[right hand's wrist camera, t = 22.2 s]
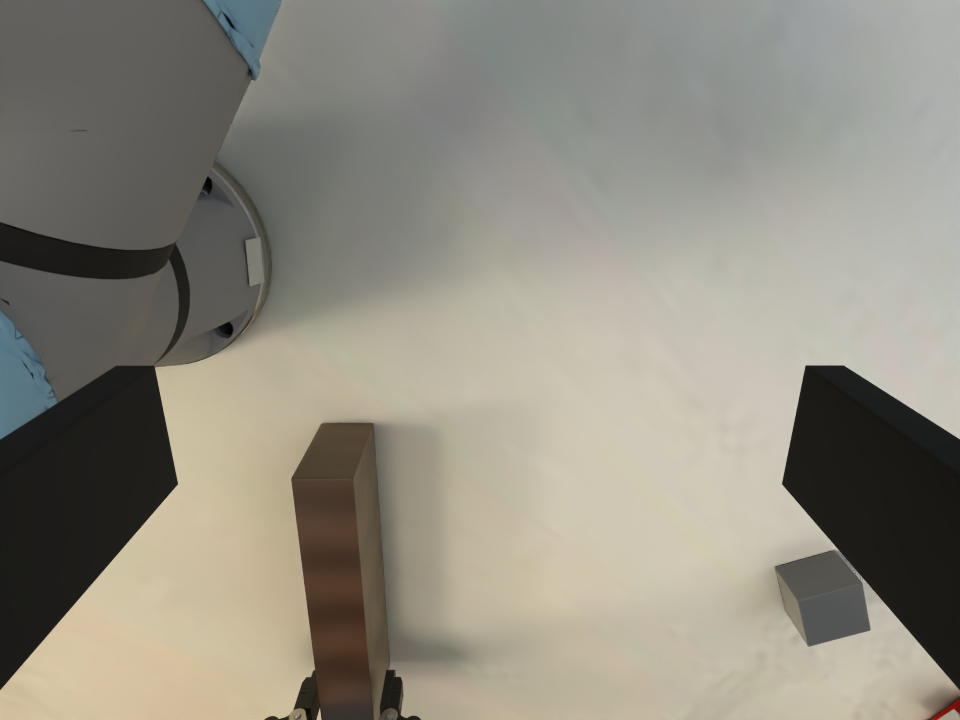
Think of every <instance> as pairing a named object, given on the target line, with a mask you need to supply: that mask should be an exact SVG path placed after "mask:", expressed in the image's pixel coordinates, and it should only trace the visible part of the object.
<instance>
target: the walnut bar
mask: <svg viewBox="0 0 960 720" xmlns="http://www.w3.org/2000/svg"><path fill="white" fill-rule="evenodd" d="M291 481H292V489H293V497H294V505H295V512H296V520H297V528H298V536H299V544H300V552H301V560H302V568H303V576H304V584H305V592H306V600H307V608H308V616H309V623H310V631H311V639H312V647H313V655H314V663H315V671H316V679H317V687H318V695H319V703H320V711H321V719H322V720H378V719H379V717H380V702H381V697H382V691H383V685H384V679H385V674H386V670H389V667H390V655H389V640H388V626H387V612H386V597H385V583H384V569H383V554H382V540H381V526H380V512H379V497H378V483H377V469H376V454H375V440H374V426H373V424H321V425H320V427H319V429H318V431H317V433H316V435H315V436H314V438H313V440H312V442H311V444H310V446H309V447H308V449H307V451H306V453H305V455H304V456H303V458H302V460H301V462H300V464H299V466H298V467H297V469H296V471H295V473H294V475H293V477H292V478H291Z"/></svg>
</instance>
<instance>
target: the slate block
mask: <svg viewBox="0 0 960 720" xmlns="http://www.w3.org/2000/svg"><path fill="white" fill-rule="evenodd" d="M775 570H776V574H777V578H778V582H779V586H780V591H781V595H782V599H783V603H784V607H785V611H786V613H787V614H788V616H789V617H790V619H791V621H792V622H793V624H794V625H795V627H796V628H797V630H798V631H799V633H800V635H801V636H802V638H803V639H804V641H805V642H806V644H807V646H813V645H817V644H821V643H824V642H828V641H832V640H836V639H840V638H843V637H847V636H851V635H855V634H859V633H862V632H866V631H870V630H871V629H870V624H869V618H868V613H867V607H866V602H865V596H864V590H863V585H862V582H861V581H860V580H859V579H858V578H857V576H856V575H855V574H854V573H853V572H852V571H851V569H850V568H849V567H848V566H847V565H846V564H845V562H844V561H843V560H842V559H841V558H840V556H839V555H838V554H837V553H836V552H835V551H830V552H827V553H823V554H819V555H816V556H812V557H809V558H805V559H802V560H798V561H794V562H791V563H787V564H784V565H780V566H777V567H775Z"/></svg>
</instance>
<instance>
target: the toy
mask: <svg viewBox="0 0 960 720" xmlns="http://www.w3.org/2000/svg"><path fill="white" fill-rule="evenodd" d="M930 720H960V699H959V700H957V701H956V702H954V703H953V704H952V705H950V706H949V707H947V708H946V709H945V710H943V711H942V712H940V713H939V714H938V715H936V716H935V717H933V718H932V719H930Z"/></svg>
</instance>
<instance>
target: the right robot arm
mask: <svg viewBox="0 0 960 720" xmlns="http://www.w3.org/2000/svg"><path fill="white" fill-rule="evenodd" d="M281 1H282V0H0V690H1V689H2V687H3V686H4V685H5V684H6V683H7V682H8V680H9V679H10V678H11V677H12V676H13V675H14V674H15V672H16V671H17V670H18V669H19V668H20V667H21V665H22V664H23V663H24V662H25V661H26V660H27V658H28V657H29V656H30V655H31V654H32V653H33V651H34V650H35V649H36V648H37V647H38V646H39V645H40V643H41V642H42V641H43V640H44V639H45V638H46V636H47V635H48V634H49V633H50V632H51V631H52V629H53V628H54V627H55V626H56V625H57V624H58V623H59V621H60V620H61V619H62V618H63V617H64V616H65V614H66V613H67V612H68V611H69V610H70V609H71V607H72V606H73V605H74V604H75V603H76V602H77V601H78V599H79V598H80V597H81V596H82V595H83V594H84V592H85V591H86V590H87V589H88V588H89V587H90V585H91V584H92V583H93V582H94V581H95V580H96V579H97V577H98V576H99V575H100V574H101V573H102V572H103V570H104V569H105V568H106V567H107V566H108V565H109V563H110V562H111V561H112V560H113V559H114V558H115V556H116V555H117V554H118V553H119V552H120V551H121V550H122V548H123V547H124V546H125V545H126V544H127V543H128V541H129V540H130V539H131V538H132V537H133V536H134V534H135V533H136V532H137V531H138V530H139V529H140V528H141V526H142V525H143V524H144V523H145V522H146V521H147V519H148V518H149V517H150V516H151V515H152V514H153V512H154V511H155V510H156V509H157V508H158V507H159V506H160V504H161V503H162V502H163V501H164V500H165V499H166V497H167V496H168V495H169V494H170V493H171V492H172V490H173V489H174V488H175V487H176V486H177V485H178V482H177V477H176V472H175V467H174V462H173V457H172V452H171V447H170V442H169V437H168V432H167V427H166V422H165V417H164V412H163V407H162V402H161V397H160V392H159V387H158V381H157V376H156V371H155V367H163V366H172V365H182V364H189V363H193V362H197V361H200V360H203V359H206V358H208V357H210V356H212V355H214V354H216V353H218V352H220V351H221V350H223V349H224V348H226V347H227V346H228V345H230V344H231V343H232V342H233V341H234V340H236V339H237V338H238V337H239V336H240V335H242V334H243V333H244V332H245V331H246V330H247V329H248V328H249V327H250V325H251V324H252V323H253V322H254V320H255V319H256V317H257V316H258V314H259V312H260V311H261V308H262V306H263V304H264V302H265V299H266V296H267V293H268V289H269V285H270V278H271V252H270V246H269V241H268V237H267V233H266V230H265V227H264V225H263V222H262V219H261V217H260V215H259V213H258V211H257V209H256V207H255V206H254V204H253V202H252V200H251V199H250V197H249V196H248V194H247V193H246V192H245V190H244V189H243V188H242V187H241V185H240V184H239V183H238V182H237V181H236V179H235V178H234V177H233V176H232V175H231V174H230V173H229V172H228V171H226V170H225V169H224V168H223V167H222V166H221V165H219V164H218V163H217V162H215V158H216V156H217V154H218V152H219V150H220V147H221V145H222V143H223V141H224V139H225V136H226V134H227V132H228V130H229V127H230V125H231V123H232V121H233V119H234V116H235V114H236V112H237V110H238V108H239V105H240V103H241V101H242V99H243V97H244V94H245V92H246V90H247V88H248V86H249V83H250V81H251V79H252V80H256V79H257V77H258V75H259V73H260V67H261V66H260V63H259V58H260V55H261V53H262V50H263V47H264V45H265V42H266V40H267V37H268V34H269V32H270V29H271V27H272V24H273V22H274V19H275V17H276V14H277V11H278V9H279V6H280V4H281ZM782 485H783V486H784V487H785V488H786V489H787V490H788V492H789V493H790V494H791V495H792V496H793V497H794V499H795V500H796V501H797V502H798V503H799V504H800V506H801V507H802V508H803V509H804V510H805V511H806V512H807V514H808V515H809V516H810V517H811V518H812V519H813V521H814V522H815V523H816V524H817V525H818V526H819V528H820V529H821V530H822V531H823V532H824V533H825V534H826V536H827V537H828V538H829V539H830V540H831V541H832V543H833V544H834V545H835V546H836V547H837V548H838V550H839V551H840V552H841V553H842V554H843V555H844V556H845V558H846V559H847V560H848V561H849V562H850V563H851V565H852V566H853V567H854V568H855V569H856V570H857V572H858V573H859V574H860V575H861V576H862V577H863V579H864V580H865V581H866V582H867V583H868V584H869V585H870V587H871V588H872V589H873V590H874V591H875V592H876V594H877V595H878V596H879V597H880V598H881V599H882V601H883V602H884V603H885V604H886V605H887V606H888V607H889V609H890V610H891V611H892V612H893V613H894V614H895V616H896V617H897V618H898V619H899V620H900V621H901V623H902V624H903V625H904V626H905V627H906V628H907V629H908V631H909V632H910V633H911V634H912V635H913V636H914V638H915V639H916V640H917V641H918V642H919V643H920V645H921V646H922V647H923V648H924V649H925V650H926V651H927V653H928V654H929V655H930V656H931V657H932V658H933V660H934V661H935V662H936V663H937V664H938V665H939V667H940V668H941V669H942V670H943V671H944V672H945V674H946V675H947V676H948V677H949V678H950V679H951V680H952V682H953V683H954V684H955V685H956V686H957V687H958V689H959V690H960V439H958V438H957V437H955V436H954V435H952V434H950V433H949V432H947V431H946V430H944V429H943V428H941V427H939V426H938V425H936V424H935V423H933V422H932V421H930V420H928V419H927V418H925V417H924V416H922V415H921V414H919V413H917V412H916V411H914V410H913V409H911V408H910V407H908V406H906V405H905V404H903V403H902V402H900V401H899V400H897V399H895V398H894V397H892V396H891V395H889V394H888V393H886V392H884V391H883V390H881V389H880V388H878V387H877V386H875V385H873V384H872V383H870V382H869V381H867V380H866V379H864V378H862V377H861V376H859V375H858V374H856V373H855V372H853V371H851V370H850V369H848V368H847V367H845V366H805V371H804V376H803V381H802V386H801V392H800V397H799V402H798V407H797V412H796V417H795V422H794V427H793V432H792V437H791V442H790V447H789V452H788V457H787V462H786V467H785V472H784V477H783V482H782Z"/></svg>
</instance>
